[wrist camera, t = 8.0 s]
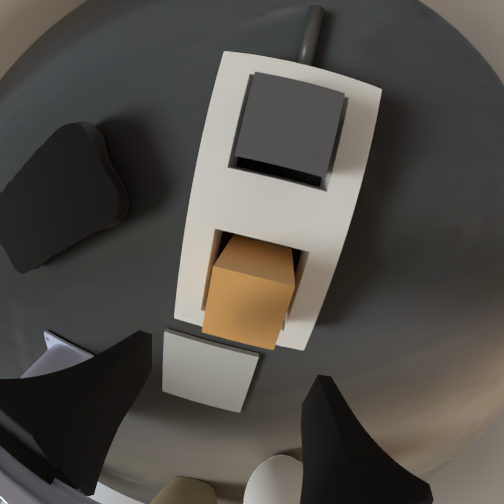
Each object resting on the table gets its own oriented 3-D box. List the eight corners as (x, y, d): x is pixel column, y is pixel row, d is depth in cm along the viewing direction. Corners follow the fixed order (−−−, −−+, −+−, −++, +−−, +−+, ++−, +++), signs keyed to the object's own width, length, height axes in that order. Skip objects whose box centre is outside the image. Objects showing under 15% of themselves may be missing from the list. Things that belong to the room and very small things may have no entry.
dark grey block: (311, 172, 17) (325, 178, 11) (250, 157, 17) (234, 155, 11) (325, 114, 16) (345, 93, 10) (264, 100, 16) (255, 71, 10)
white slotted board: (301, 326, 20) (303, 350, 18) (187, 297, 21) (174, 318, 18) (377, 31, 13) (391, 13, 10) (252, 1, 13) (248, -21, 10)
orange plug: (276, 299, 20) (273, 350, 14) (223, 285, 20) (201, 331, 14) (291, 248, 19) (295, 286, 13) (234, 233, 19) (213, 265, 13)
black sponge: (110, 112, 17) (81, 107, 14) (145, 210, 19) (119, 221, 16) (10, 199, 20) (-14, 207, 17) (36, 270, 23) (13, 284, 19)
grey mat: (240, 409, 24) (239, 413, 24) (163, 387, 25) (162, 390, 24) (259, 353, 22) (258, 357, 21) (166, 328, 22) (164, 331, 21)
